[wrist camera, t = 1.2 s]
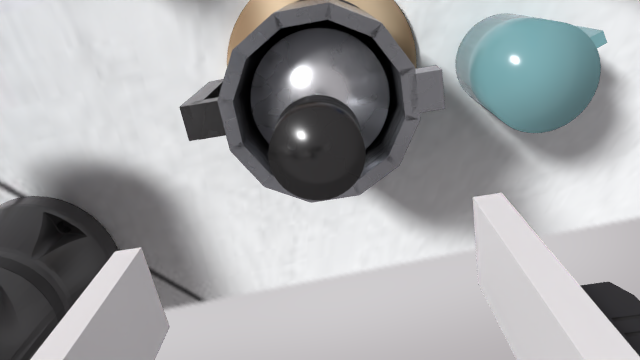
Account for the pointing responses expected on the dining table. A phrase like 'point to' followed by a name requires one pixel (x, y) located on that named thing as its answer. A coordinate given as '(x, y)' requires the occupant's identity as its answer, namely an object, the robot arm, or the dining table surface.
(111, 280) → the robot arm
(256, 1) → the trivet
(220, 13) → the dining table surface
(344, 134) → the plunger
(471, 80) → the mug
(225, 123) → the carafe
